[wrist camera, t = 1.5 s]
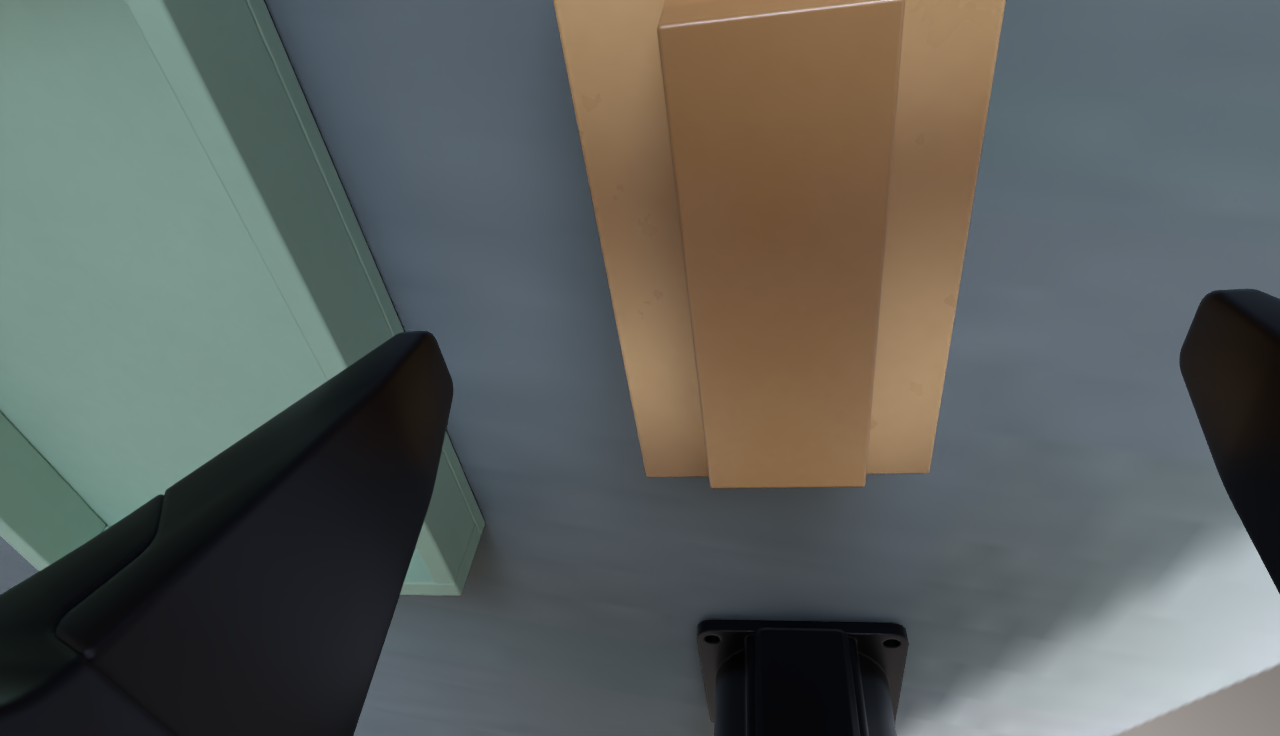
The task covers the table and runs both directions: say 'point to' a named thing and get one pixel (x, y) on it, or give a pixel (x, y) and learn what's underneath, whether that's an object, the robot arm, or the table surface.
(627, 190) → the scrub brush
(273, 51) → the tray
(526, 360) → the table surface
